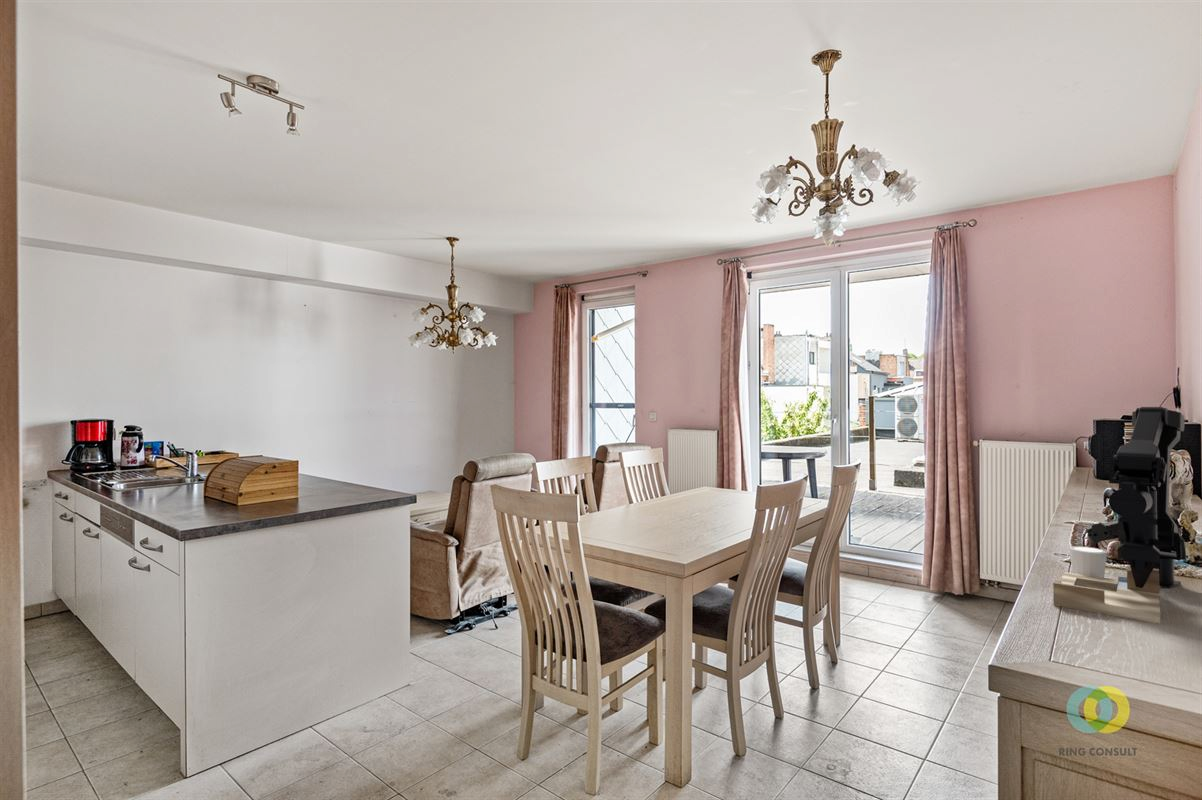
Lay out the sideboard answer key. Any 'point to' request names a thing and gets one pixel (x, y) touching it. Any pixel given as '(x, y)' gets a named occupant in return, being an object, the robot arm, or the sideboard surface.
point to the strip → (1122, 582)
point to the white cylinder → (1088, 561)
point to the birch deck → (1105, 597)
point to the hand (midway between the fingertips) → (1139, 587)
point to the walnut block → (1149, 586)
